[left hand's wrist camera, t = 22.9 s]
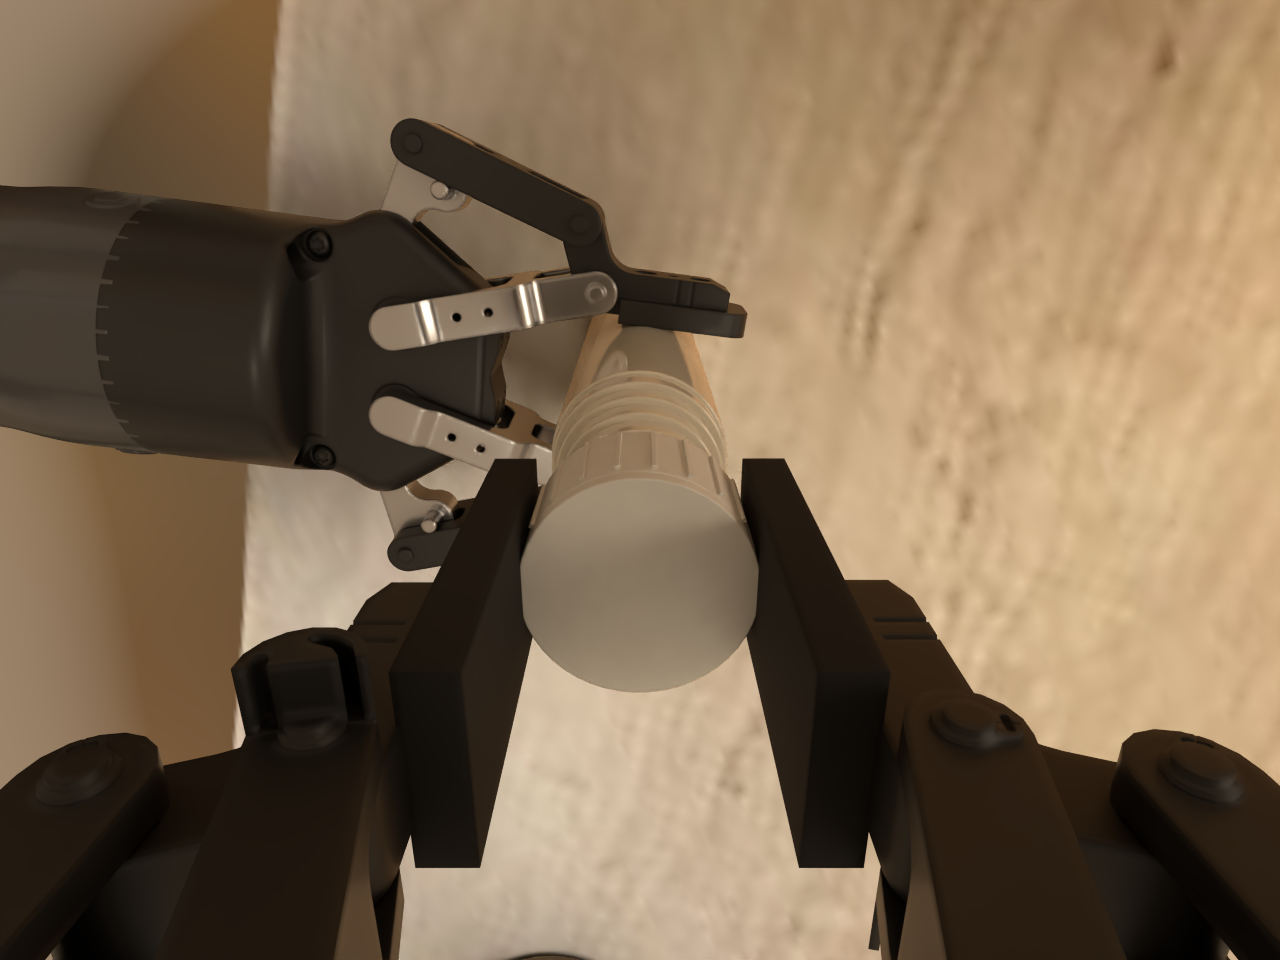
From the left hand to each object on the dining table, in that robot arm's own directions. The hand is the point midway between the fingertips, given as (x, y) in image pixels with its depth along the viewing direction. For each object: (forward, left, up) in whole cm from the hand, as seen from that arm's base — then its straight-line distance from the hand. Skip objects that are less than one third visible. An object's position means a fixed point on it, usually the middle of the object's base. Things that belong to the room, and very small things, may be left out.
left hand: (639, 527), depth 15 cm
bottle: (0, 0, -17) cm, 17 cm away
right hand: (-1, +3, -10) cm, 11 cm away
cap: (0, 0, +2) cm, 2 cm away
